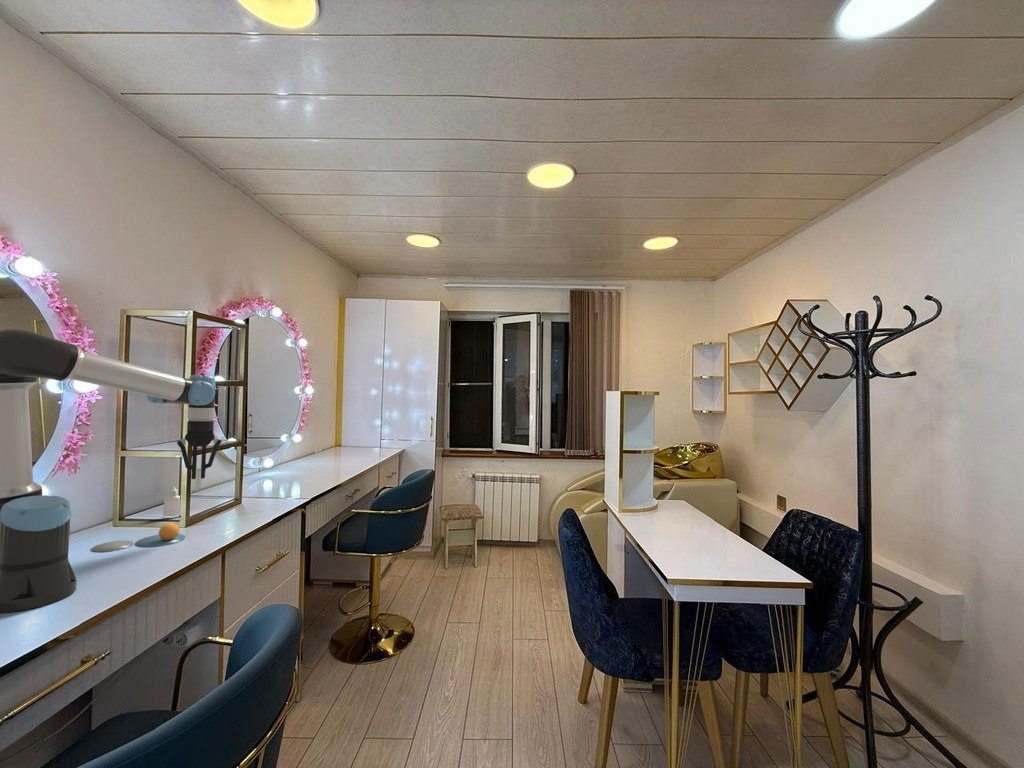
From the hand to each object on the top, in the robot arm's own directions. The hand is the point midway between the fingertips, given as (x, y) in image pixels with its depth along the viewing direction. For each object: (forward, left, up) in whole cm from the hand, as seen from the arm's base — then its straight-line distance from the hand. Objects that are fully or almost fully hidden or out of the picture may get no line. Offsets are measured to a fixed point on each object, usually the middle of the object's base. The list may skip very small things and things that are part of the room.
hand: (197, 488), depth 154 cm
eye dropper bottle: (+15, +26, -17) cm, 34 cm away
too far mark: (-15, +15, -16) cm, 27 cm away
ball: (-6, +5, -14) cm, 16 cm away
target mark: (-7, +7, -16) cm, 19 cm away
